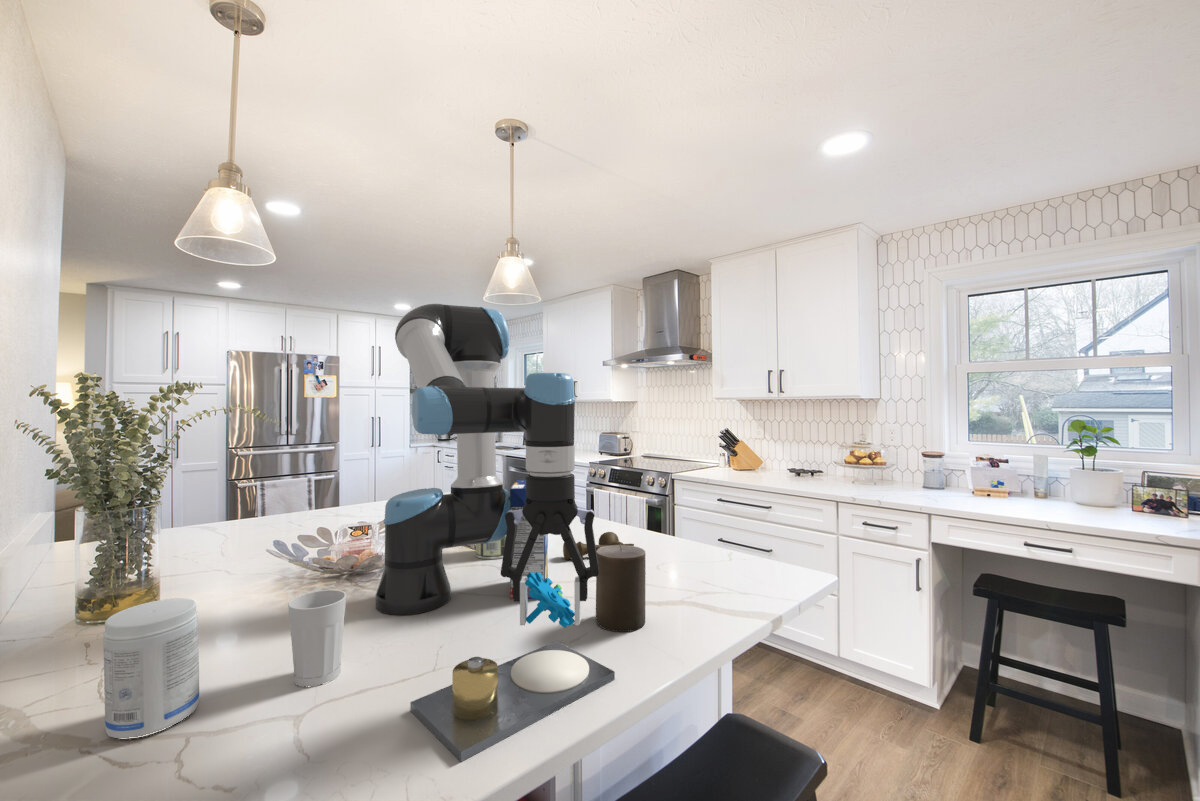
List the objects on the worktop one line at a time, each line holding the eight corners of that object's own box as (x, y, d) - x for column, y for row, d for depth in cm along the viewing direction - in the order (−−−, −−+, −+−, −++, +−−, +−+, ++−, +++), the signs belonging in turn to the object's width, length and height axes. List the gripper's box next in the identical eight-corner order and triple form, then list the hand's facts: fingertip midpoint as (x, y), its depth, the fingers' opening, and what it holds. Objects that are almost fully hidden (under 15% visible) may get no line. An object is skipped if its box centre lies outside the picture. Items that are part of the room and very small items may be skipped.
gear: (569, 629, 72) (523, 574, 75) (539, 658, 72) (494, 603, 75) (585, 609, 83) (544, 562, 85) (559, 634, 83) (519, 587, 85)
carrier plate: (460, 762, 60) (460, 699, 60) (410, 710, 70) (410, 657, 71) (614, 679, 78) (614, 631, 78) (557, 647, 89) (556, 605, 89)
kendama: (561, 556, 143) (629, 550, 148) (566, 568, 134) (639, 560, 138) (560, 535, 143) (629, 529, 148) (565, 545, 134) (639, 538, 138)
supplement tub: (192, 691, 75) (192, 591, 75) (205, 718, 69) (205, 609, 69) (100, 721, 68) (101, 611, 68) (105, 755, 62) (106, 633, 62)
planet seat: (504, 693, 73) (504, 690, 73) (517, 651, 85) (517, 650, 85) (588, 693, 73) (588, 690, 73) (589, 651, 85) (589, 650, 85)
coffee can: (505, 547, 151) (504, 499, 151) (517, 556, 142) (517, 505, 142) (470, 552, 145) (470, 502, 145) (481, 561, 136) (481, 509, 137)
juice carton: (516, 580, 122) (516, 480, 122) (547, 579, 123) (547, 479, 123) (510, 599, 110) (510, 488, 110) (544, 599, 111) (544, 488, 111)
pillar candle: (632, 636, 93) (633, 553, 93) (586, 625, 98) (586, 546, 98) (653, 617, 101) (654, 541, 101) (610, 607, 106) (610, 535, 106)
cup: (333, 658, 85) (333, 586, 85) (355, 674, 80) (355, 597, 80) (279, 678, 79) (279, 600, 79) (300, 696, 74) (300, 613, 74)
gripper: (478, 476, 75) (478, 632, 75) (617, 476, 75) (617, 632, 75) (489, 470, 83) (489, 611, 82) (615, 469, 83) (616, 611, 82)
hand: (550, 621), depth 79 cm, fingers closed on gear, 8 cm apart
